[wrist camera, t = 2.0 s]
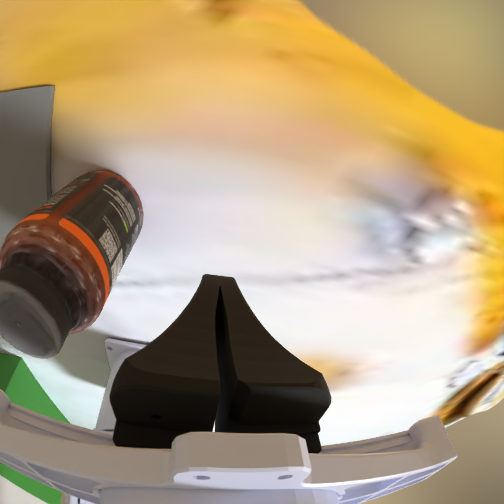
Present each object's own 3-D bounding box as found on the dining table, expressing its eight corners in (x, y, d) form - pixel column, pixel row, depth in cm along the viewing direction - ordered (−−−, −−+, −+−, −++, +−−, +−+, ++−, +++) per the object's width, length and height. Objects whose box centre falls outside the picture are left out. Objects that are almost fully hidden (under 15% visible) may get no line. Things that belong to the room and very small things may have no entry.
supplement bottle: (56, 214, 18) (-39, 313, 8) (97, 149, 16) (-24, 222, 6) (115, 264, 20) (57, 390, 10) (163, 207, 18) (107, 333, 9)
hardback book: (76, 429, 34) (54, 557, 13) (41, 420, 33) (14, 538, 12) (21, 357, 25) (-36, 526, 4) (-14, 349, 24) (-73, 493, 3)
